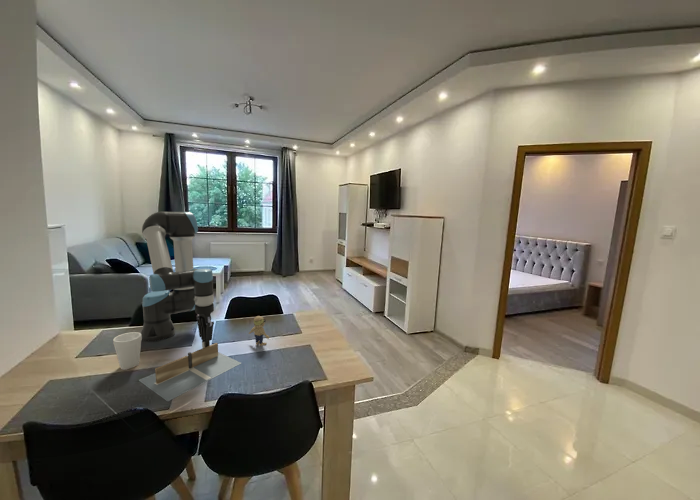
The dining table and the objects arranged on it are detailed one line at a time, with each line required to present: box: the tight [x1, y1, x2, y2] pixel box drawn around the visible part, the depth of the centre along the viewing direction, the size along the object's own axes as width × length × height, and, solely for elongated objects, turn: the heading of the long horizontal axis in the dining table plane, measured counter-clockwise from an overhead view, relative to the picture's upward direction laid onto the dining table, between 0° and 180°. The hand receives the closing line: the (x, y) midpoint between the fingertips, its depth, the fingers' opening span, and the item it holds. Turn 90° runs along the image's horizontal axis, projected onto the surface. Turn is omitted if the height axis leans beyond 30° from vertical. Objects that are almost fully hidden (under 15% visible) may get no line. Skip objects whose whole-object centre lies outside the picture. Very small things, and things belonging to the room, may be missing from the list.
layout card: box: [138, 351, 242, 402], centre depth 120 cm, size 22×31×1 cm
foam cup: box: [112, 331, 143, 371], centre depth 122 cm, size 10×9×13 cm
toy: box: [248, 315, 270, 346], centre depth 145 cm, size 13×6×15 cm, turn 65°
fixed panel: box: [154, 355, 189, 384], centre depth 116 cm, size 1×12×6 cm, turn 148°
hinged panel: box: [187, 342, 219, 368], centre depth 127 cm, size 1×13×7 cm, turn 148°
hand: (206, 353), depth 132 cm, fingers closed
